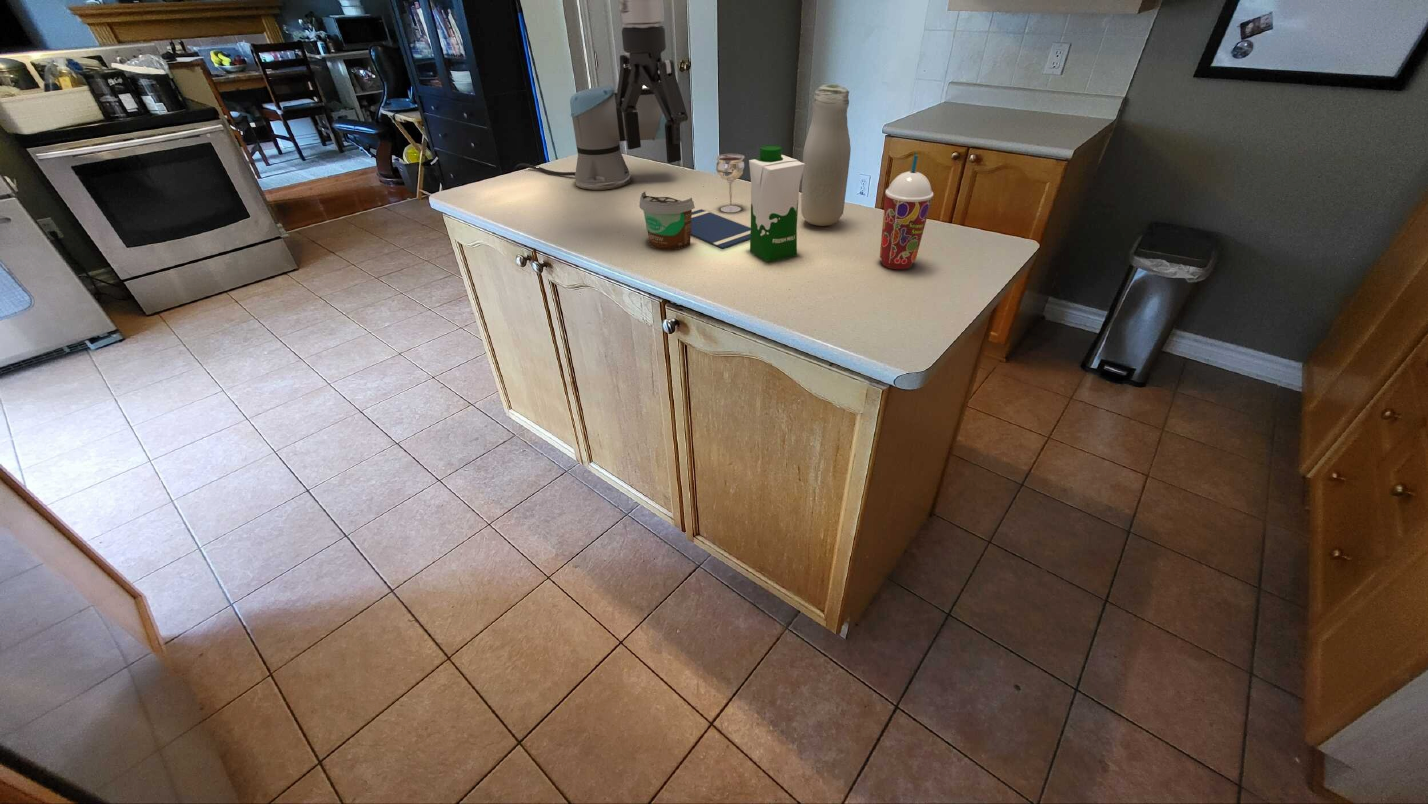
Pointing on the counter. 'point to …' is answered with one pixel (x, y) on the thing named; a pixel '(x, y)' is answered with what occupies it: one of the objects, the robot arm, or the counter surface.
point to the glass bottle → (826, 157)
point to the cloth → (717, 229)
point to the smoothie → (904, 218)
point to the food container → (667, 221)
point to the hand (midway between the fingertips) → (653, 154)
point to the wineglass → (730, 174)
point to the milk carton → (774, 204)
